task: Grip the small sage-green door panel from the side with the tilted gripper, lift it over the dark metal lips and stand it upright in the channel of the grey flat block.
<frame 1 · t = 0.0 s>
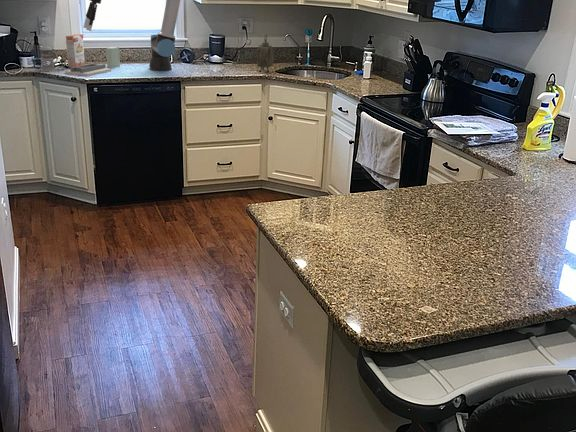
hand: (87, 29, 392), 28 cm above the countertop, tool tilted 20°, fingers open, 13 cm apart
cracker box: (76, 66, 427), on the countertop
grey flat block: (88, 72, 409), on the countertop
door panel: (113, 66, 432), on the countertop
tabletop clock: (265, 72, 440), on the countertop
french press: (49, 70, 409), on the countertop
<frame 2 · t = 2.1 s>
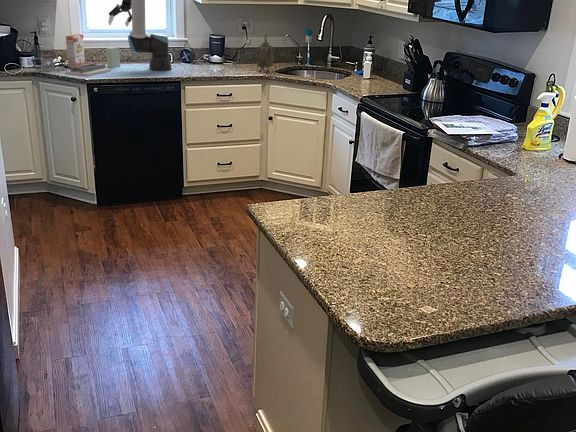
hand: (117, 24, 428), 28 cm above the countertop, tool tilted 45°, fingers open, 13 cm apart
nothing on the countertop moved.
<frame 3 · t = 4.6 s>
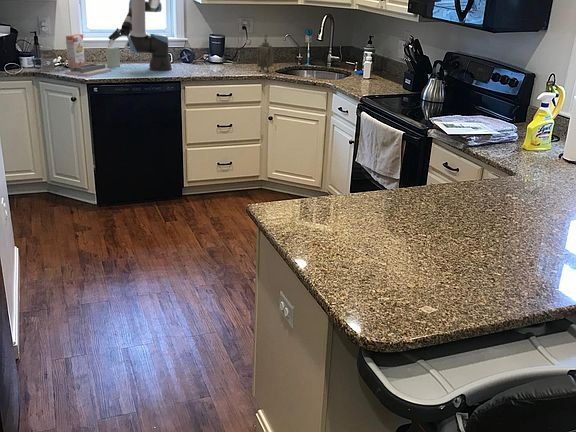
hand: (116, 48, 434), 11 cm above the countertop, tool tilted 45°, fingers open, 13 cm apart
nothing on the countertop moved.
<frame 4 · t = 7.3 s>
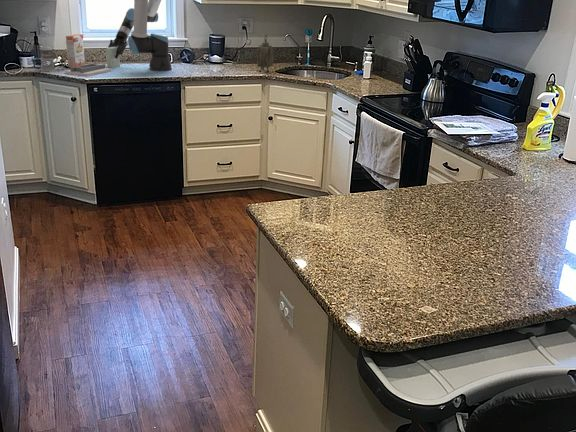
hand: (110, 61, 427), 4 cm above the countertop, tool tilted 45°, fingers closed on door panel, 4 cm apart
door panel: (113, 66, 432), on the countertop, touching gripper
everything else where it was.
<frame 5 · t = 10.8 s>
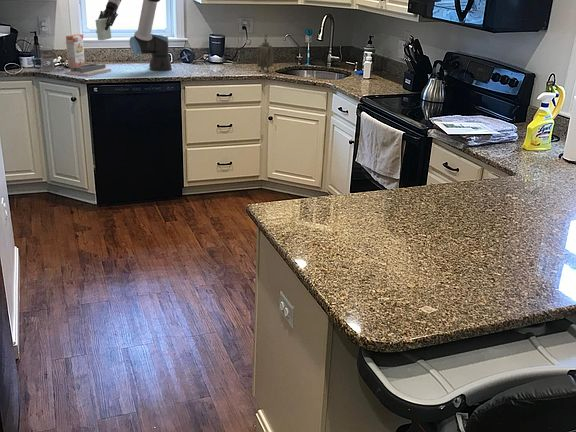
hand: (100, 33, 418), 23 cm above the countertop, tool tilted 40°, fingers closed on door panel, 4 cm apart
door panel: (104, 39, 424), point 19 cm above the countertop, touching gripper
everything else where it was.
when the fingers open (7 cm above the countertop, at t = 14.5 s): door panel drops 1 cm, resting on grey flat block.
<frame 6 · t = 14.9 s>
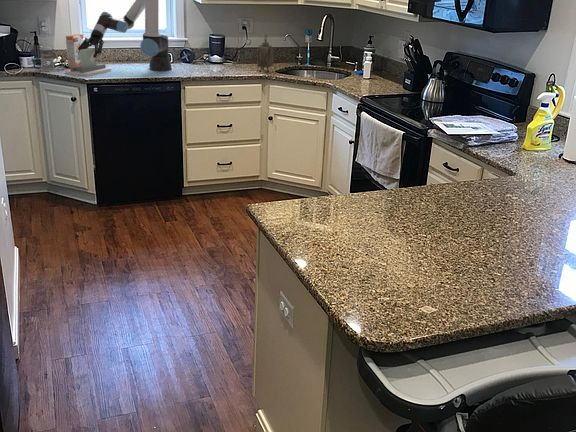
hand: (84, 60, 403), 8 cm above the countertop, tool tilted 45°, fingers open, 9 cm apart
door panel: (88, 69, 408), point 1 cm above the countertop, touching grey flat block
everything else where it was.
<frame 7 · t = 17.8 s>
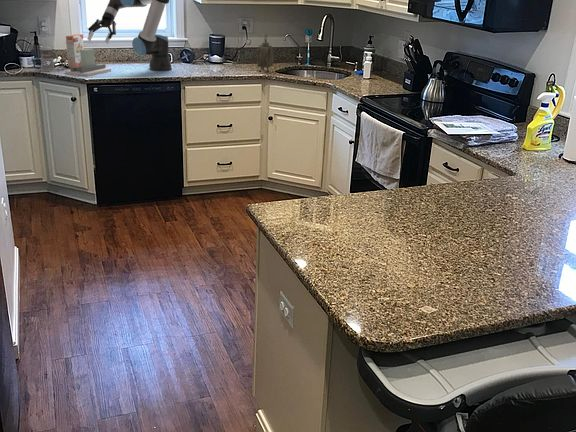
hand: (97, 41, 411), 19 cm above the countertop, tool tilted 45°, fingers open, 13 cm apart
nothing on the countertop moved.
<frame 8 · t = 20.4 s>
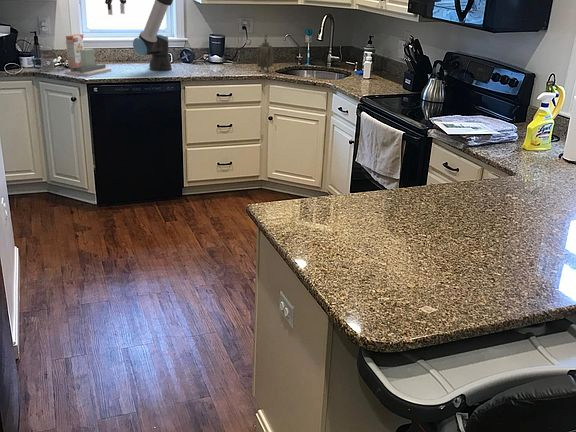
hand: (116, 14, 422), 35 cm above the countertop, tool pointing down, fingers open, 13 cm apart
nothing on the countertop moved.
at the end: door panel 0.1 cm off-centre on the grey flat block, point 1.5 cm above the grey flat block's base; door panel tilted 0°; the gripper is holding nothing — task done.
